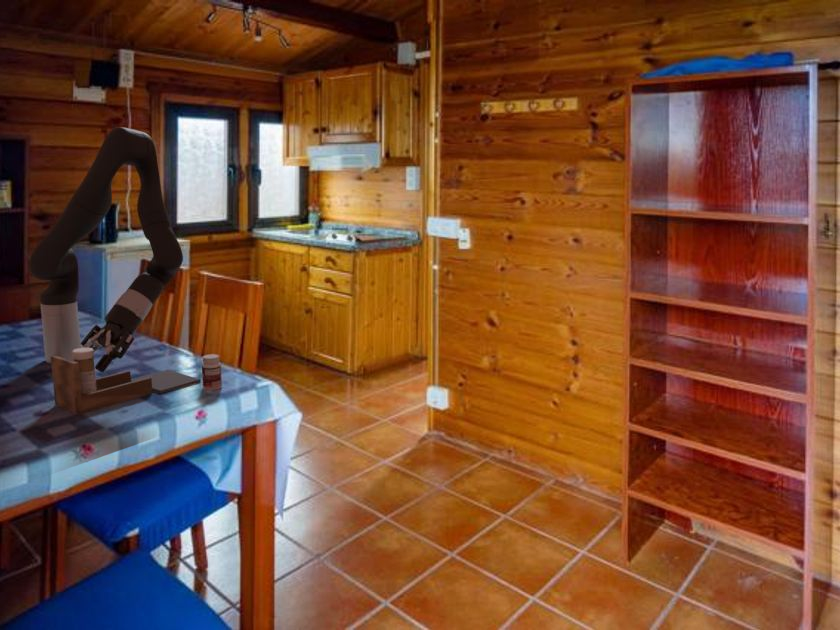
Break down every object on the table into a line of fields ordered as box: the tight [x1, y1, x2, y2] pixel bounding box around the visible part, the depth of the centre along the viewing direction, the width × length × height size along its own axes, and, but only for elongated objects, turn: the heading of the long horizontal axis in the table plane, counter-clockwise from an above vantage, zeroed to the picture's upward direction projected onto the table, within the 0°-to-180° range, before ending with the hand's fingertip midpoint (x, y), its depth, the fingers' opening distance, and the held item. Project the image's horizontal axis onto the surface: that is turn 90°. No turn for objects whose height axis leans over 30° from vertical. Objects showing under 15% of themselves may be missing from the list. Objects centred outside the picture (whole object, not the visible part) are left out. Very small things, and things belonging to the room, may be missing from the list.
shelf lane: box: [50, 355, 153, 415], centre depth 162 cm, size 10×19×12 cm, turn 146°
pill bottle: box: [201, 353, 223, 391], centre depth 172 cm, size 5×5×8 cm
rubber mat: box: [131, 369, 202, 394], centre depth 176 cm, size 14×12×1 cm
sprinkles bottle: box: [72, 347, 97, 395], centre depth 158 cm, size 5×5×14 cm
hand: (88, 367), depth 158 cm, fingers open, 8 cm apart
